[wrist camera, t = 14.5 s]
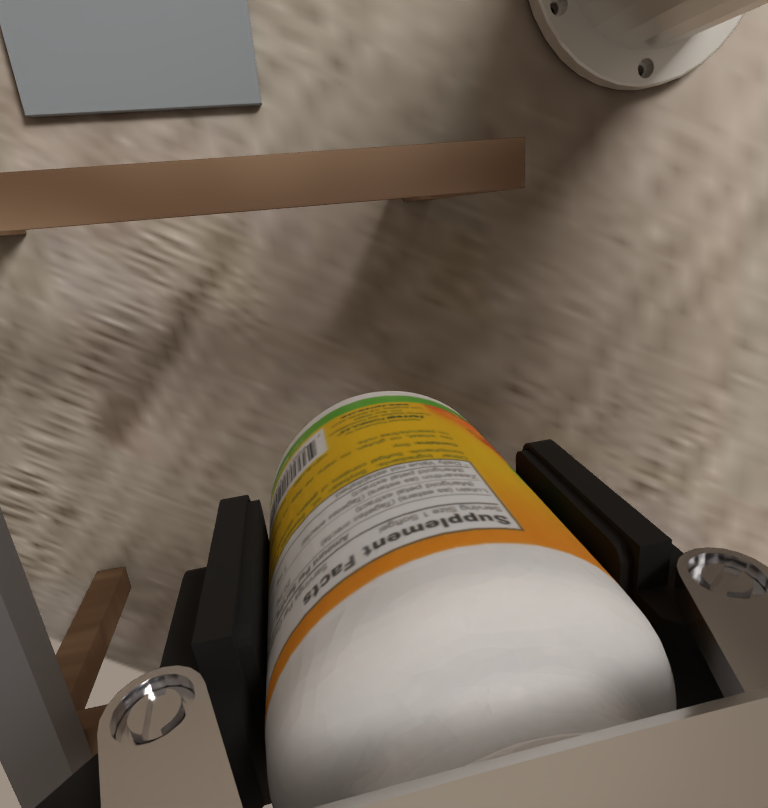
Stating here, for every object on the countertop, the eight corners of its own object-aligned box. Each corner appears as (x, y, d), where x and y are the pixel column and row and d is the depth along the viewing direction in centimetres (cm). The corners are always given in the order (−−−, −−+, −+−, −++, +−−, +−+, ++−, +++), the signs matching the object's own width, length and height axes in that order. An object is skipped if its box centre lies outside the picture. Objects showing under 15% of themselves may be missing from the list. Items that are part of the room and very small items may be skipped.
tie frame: (-20, 202, 24) (-237, 188, 14) (430, 168, 27) (524, 136, 17) (104, 592, 31) (22, 772, 21) (447, 529, 35) (521, 658, 24)
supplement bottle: (496, 548, 14) (855, 1099, 5) (301, 603, 14) (344, 1320, 5) (471, 361, 13) (969, 741, 4) (243, 416, 12) (138, 1037, 3)
